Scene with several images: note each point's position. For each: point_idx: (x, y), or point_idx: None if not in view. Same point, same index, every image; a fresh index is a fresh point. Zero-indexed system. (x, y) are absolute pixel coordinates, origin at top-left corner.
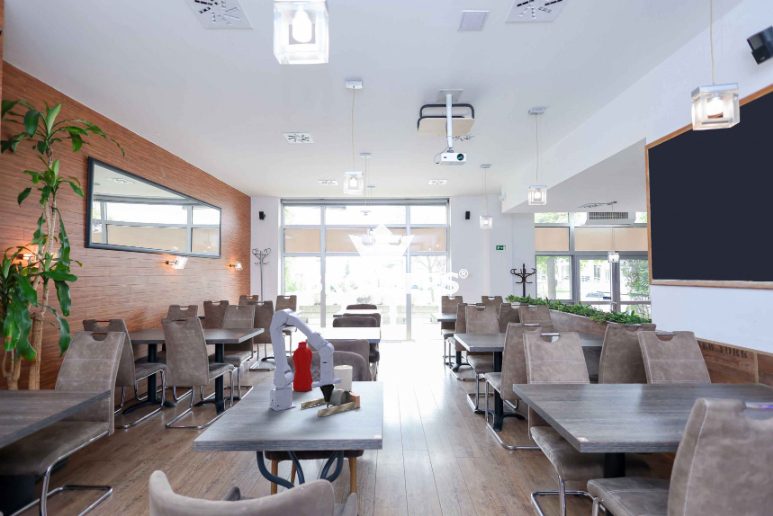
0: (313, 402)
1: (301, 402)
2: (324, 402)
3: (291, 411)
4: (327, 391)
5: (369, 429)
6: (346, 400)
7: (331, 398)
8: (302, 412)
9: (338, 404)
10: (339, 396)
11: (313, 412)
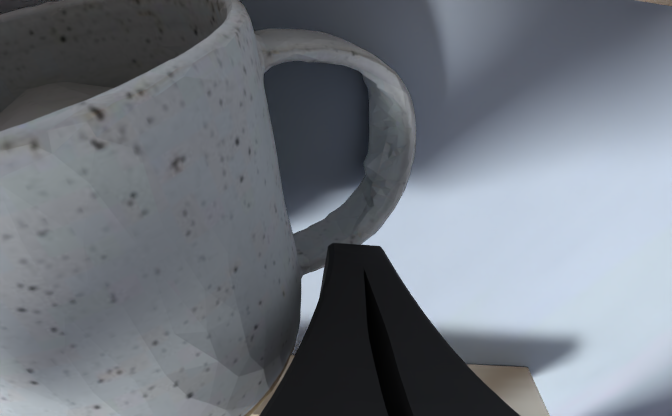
0: None
1: None
2: None
3: (649, 368)
4: (470, 413)
5: None
6: None
7: (291, 273)
8: (638, 285)
9: (263, 40)
10: (202, 104)
11: (585, 202)
